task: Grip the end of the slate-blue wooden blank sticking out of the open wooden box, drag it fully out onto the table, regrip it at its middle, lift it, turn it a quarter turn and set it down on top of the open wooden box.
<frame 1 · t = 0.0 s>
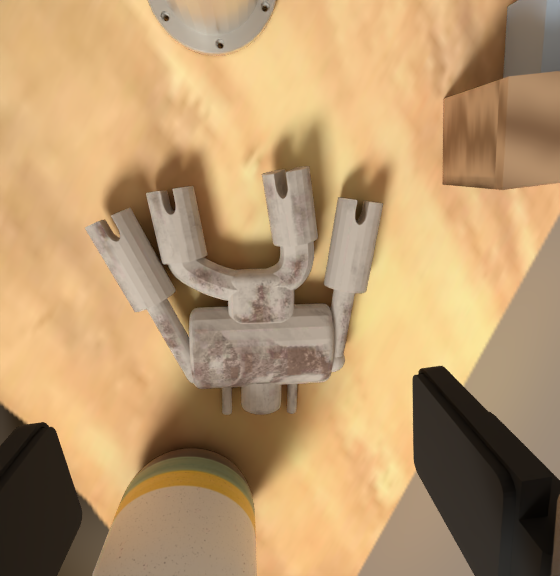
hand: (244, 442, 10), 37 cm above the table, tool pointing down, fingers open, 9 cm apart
blank: (520, 75, 43), resting in open wooden box
open wooden box: (495, 136, 45), on the table
white branched piece: (255, 302, 49), on the table
vase: (192, 484, 55), on the table
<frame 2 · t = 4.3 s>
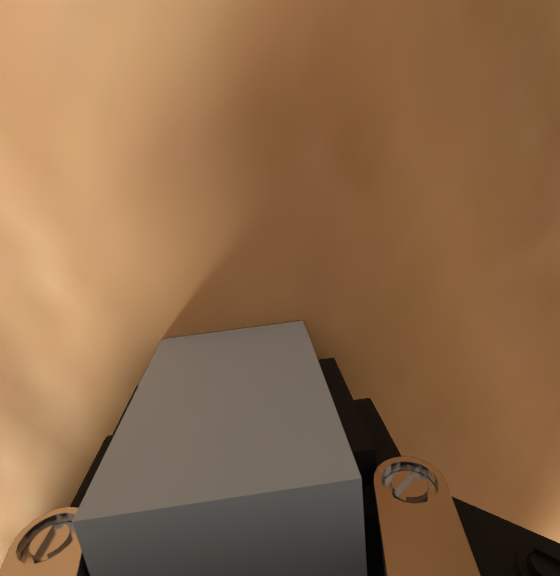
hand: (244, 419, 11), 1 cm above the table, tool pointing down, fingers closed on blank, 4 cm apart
blank: (260, 510, 13), on the table, touching gripper
when the fingers open (1 cm above the table, at t = 6.3 s): blank stays where it is, on the table.
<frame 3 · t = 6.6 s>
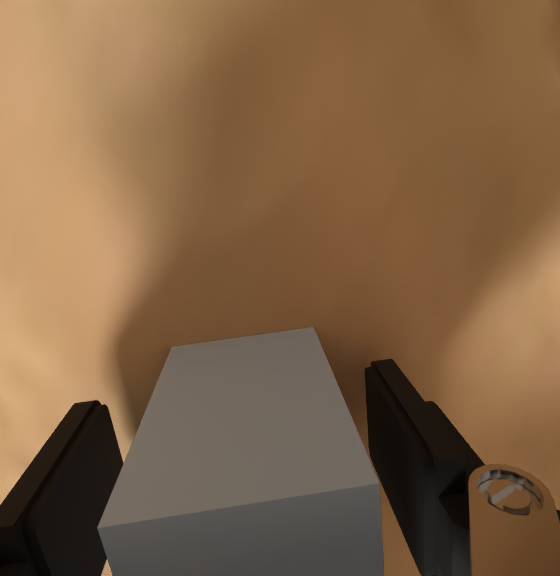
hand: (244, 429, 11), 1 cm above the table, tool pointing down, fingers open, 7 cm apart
blank: (271, 512, 13), on the table
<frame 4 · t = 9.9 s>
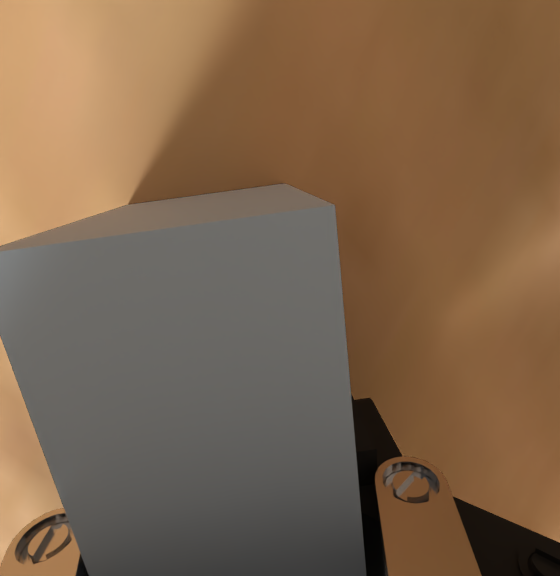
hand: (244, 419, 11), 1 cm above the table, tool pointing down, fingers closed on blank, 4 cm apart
blank: (246, 412, 12), on the table, touching gripper
when the fingers open (13 cm above the table, at t = 13.3 s): blank drops 1 cm, resting on open wooden box.
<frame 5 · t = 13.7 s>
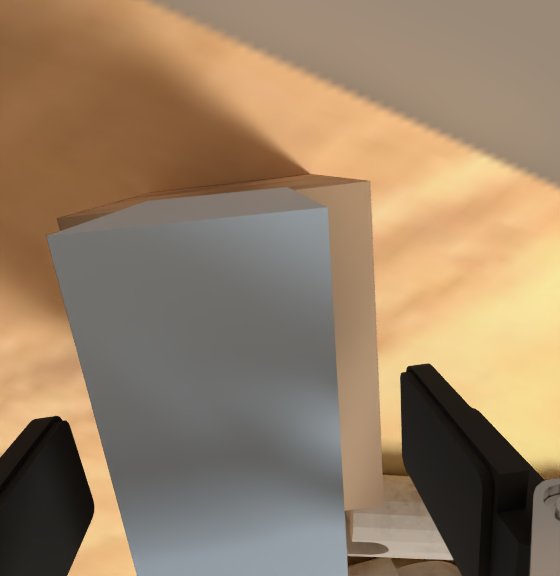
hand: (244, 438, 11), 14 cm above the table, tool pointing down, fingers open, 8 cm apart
blank: (244, 392, 13), point 11 cm above the table, touching open wooden box
open wooden box: (245, 286, 24), on the table
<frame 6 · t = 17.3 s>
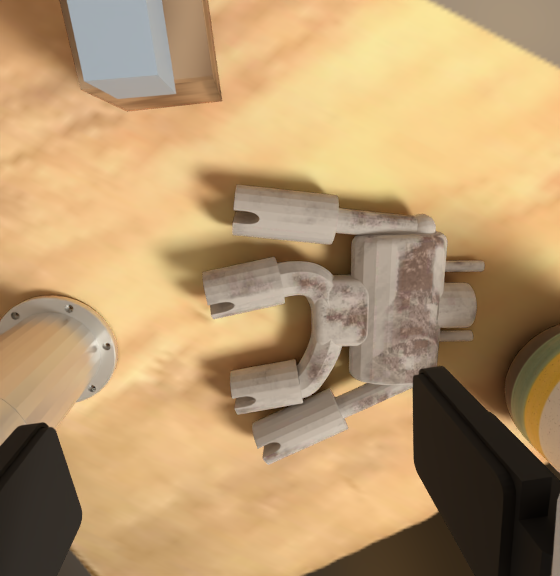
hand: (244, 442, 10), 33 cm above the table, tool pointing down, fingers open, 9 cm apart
open wooden box: (162, 34, 36), on the table
white branched piece: (349, 305, 46), on the table
vase: (552, 371, 51), on the table
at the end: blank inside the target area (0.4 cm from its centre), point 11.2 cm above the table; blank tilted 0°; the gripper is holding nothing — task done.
